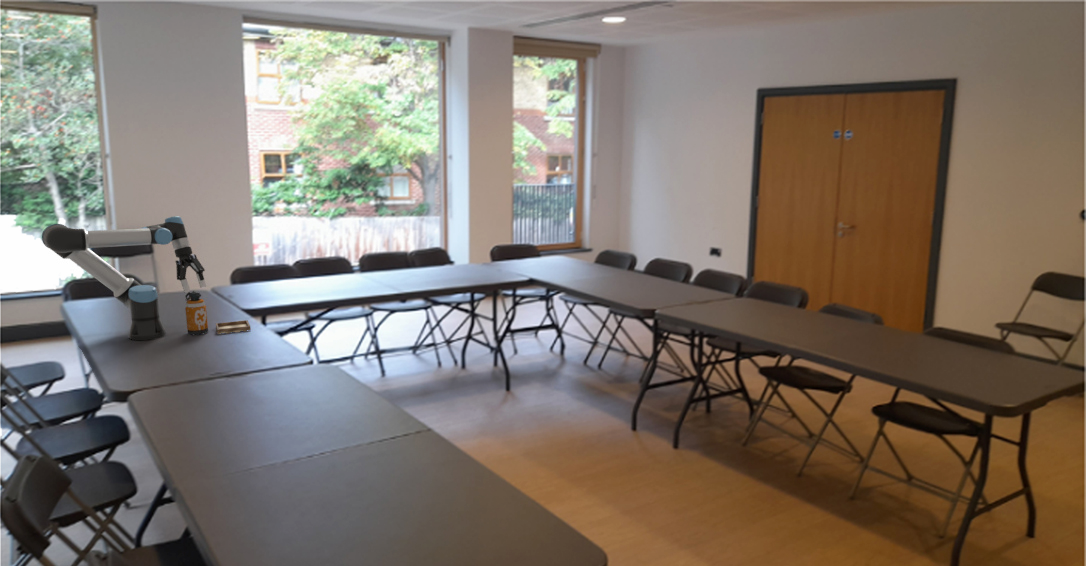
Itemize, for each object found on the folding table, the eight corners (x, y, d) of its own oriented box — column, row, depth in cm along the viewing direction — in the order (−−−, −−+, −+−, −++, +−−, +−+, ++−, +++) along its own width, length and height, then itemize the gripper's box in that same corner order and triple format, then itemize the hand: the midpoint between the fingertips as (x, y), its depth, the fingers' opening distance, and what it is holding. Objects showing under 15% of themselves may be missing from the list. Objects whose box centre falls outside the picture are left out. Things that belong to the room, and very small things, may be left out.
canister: (194, 336, 356) (190, 294, 353) (181, 332, 363) (177, 291, 359) (212, 332, 364) (208, 291, 360) (199, 329, 370) (196, 288, 366)
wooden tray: (217, 334, 360) (217, 329, 360) (215, 327, 372) (215, 323, 372) (250, 330, 367) (250, 326, 366) (247, 324, 378) (247, 320, 378)
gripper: (203, 240, 367) (216, 283, 369) (175, 252, 381) (188, 292, 382) (189, 243, 361) (203, 286, 363) (161, 254, 375) (174, 296, 376)
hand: (195, 289), depth 373 cm, fingers open, 13 cm apart
